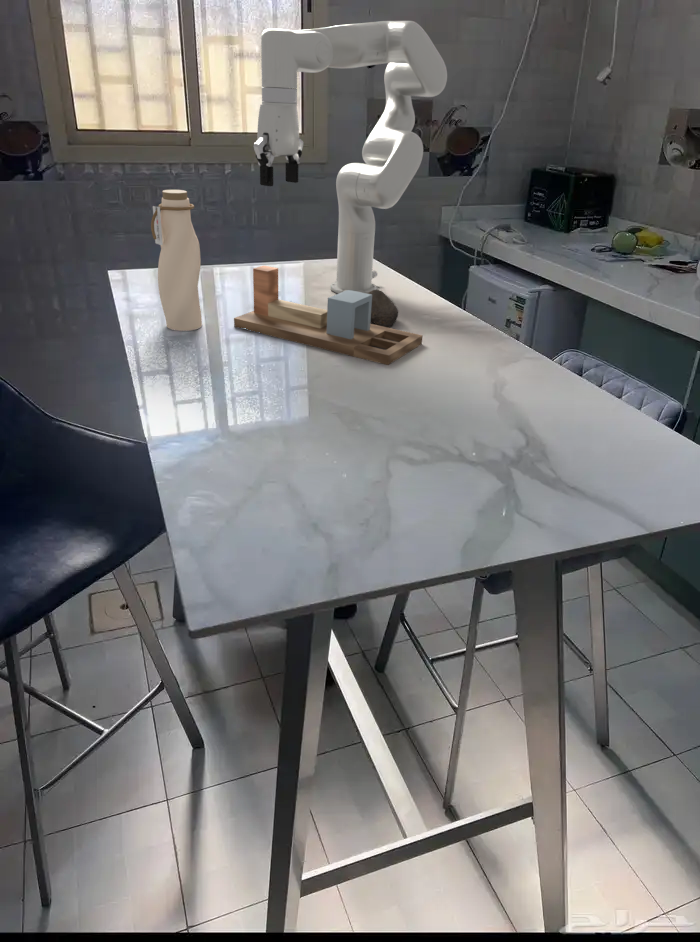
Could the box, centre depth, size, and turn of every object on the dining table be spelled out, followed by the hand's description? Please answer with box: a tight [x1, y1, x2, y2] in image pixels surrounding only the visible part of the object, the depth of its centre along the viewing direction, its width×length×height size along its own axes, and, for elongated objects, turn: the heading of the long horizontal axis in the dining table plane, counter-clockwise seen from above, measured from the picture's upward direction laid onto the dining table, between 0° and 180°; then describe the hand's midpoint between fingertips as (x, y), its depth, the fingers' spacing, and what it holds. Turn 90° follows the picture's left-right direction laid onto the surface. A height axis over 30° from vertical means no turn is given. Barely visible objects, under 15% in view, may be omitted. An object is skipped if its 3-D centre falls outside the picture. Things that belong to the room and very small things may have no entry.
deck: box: [233, 310, 423, 366], centre depth 151 cm, size 16×39×2 cm, turn 60°
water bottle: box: [150, 189, 203, 332], centre depth 145 cm, size 10×9×28 cm
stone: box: [367, 289, 399, 328], centre depth 161 cm, size 10×8×10 cm
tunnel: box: [326, 290, 372, 339], centre depth 146 cm, size 8×6×8 cm
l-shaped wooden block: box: [252, 265, 327, 328], centre depth 152 cm, size 4×18×10 cm, turn 60°
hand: (279, 183), depth 155 cm, fingers open, 9 cm apart
